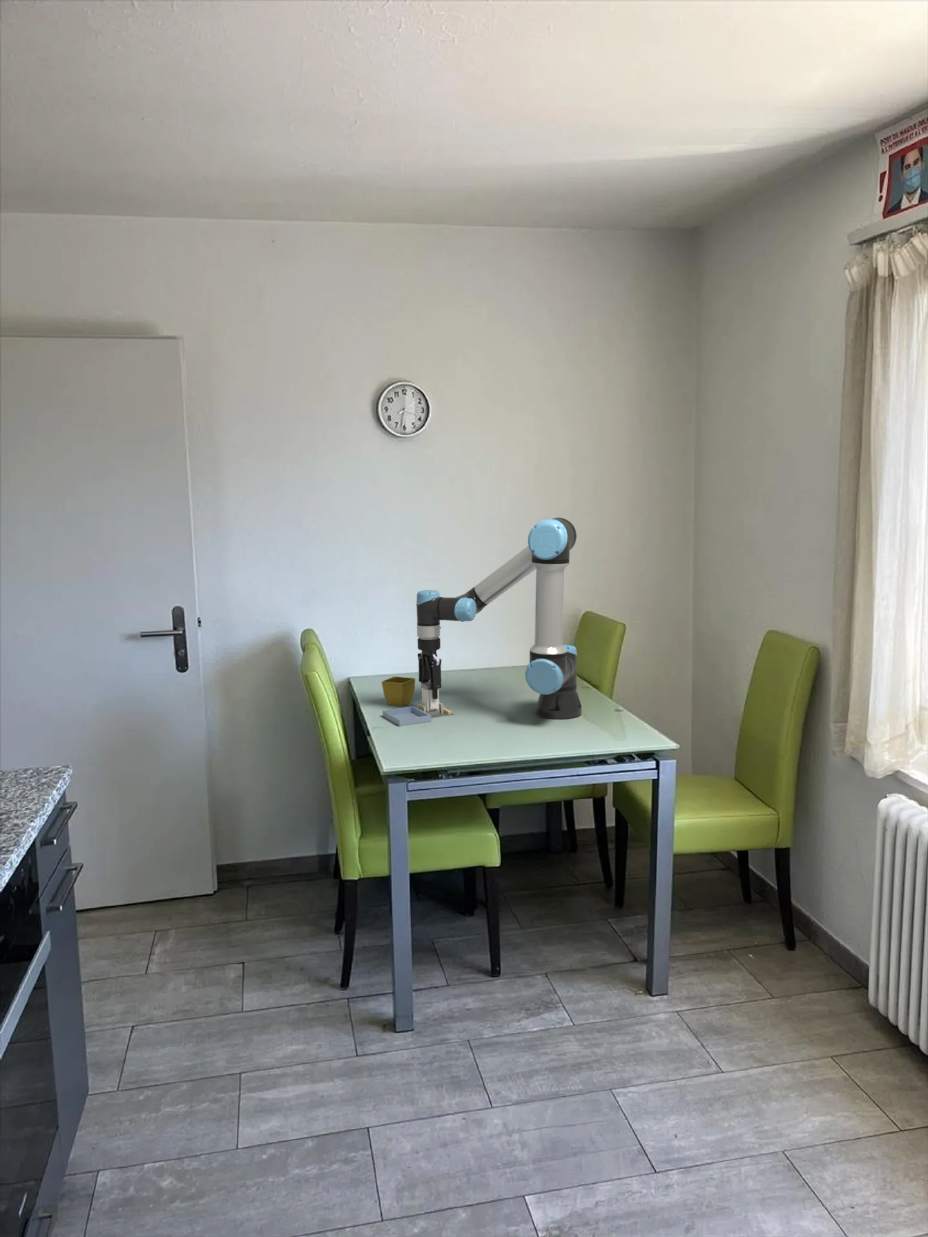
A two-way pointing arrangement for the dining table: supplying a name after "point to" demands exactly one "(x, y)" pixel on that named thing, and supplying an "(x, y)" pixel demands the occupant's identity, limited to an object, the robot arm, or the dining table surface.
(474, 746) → the dining table surface
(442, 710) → the block
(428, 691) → the block
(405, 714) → the tray
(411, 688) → the flower pot
